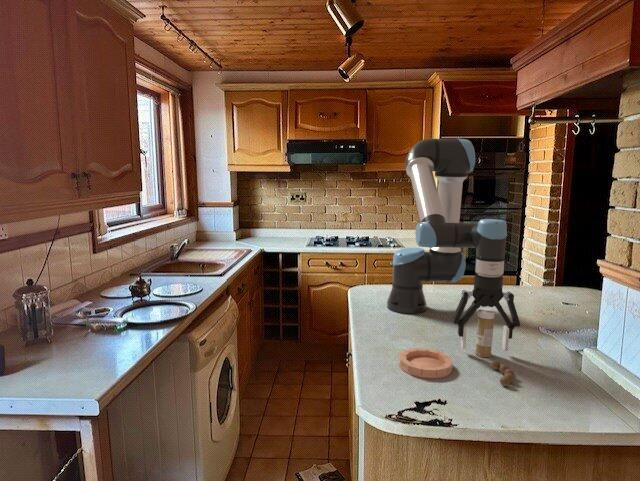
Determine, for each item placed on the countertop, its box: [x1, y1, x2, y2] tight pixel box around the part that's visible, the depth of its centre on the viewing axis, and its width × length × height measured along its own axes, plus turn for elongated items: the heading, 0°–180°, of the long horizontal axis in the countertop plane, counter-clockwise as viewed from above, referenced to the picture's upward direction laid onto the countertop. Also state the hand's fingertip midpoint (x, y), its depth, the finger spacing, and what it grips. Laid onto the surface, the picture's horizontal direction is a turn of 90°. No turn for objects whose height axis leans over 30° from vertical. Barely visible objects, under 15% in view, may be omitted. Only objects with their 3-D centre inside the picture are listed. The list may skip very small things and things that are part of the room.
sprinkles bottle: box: [474, 307, 496, 358], centre depth 123 cm, size 5×5×14 cm
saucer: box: [398, 347, 453, 380], centre depth 115 cm, size 14×14×2 cm
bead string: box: [490, 360, 515, 387], centre depth 110 cm, size 12×5×2 cm, turn 174°
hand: (483, 347), depth 123 cm, fingers open, 11 cm apart
